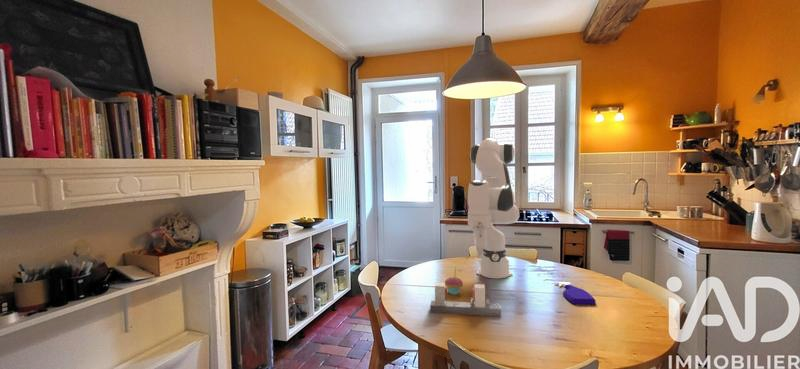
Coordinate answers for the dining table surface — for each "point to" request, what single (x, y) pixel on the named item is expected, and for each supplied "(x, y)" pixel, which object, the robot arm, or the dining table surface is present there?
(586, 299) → the purple flat bottle
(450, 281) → the cupcake
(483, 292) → the finger block
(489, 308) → the rail
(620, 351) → the dining table surface
